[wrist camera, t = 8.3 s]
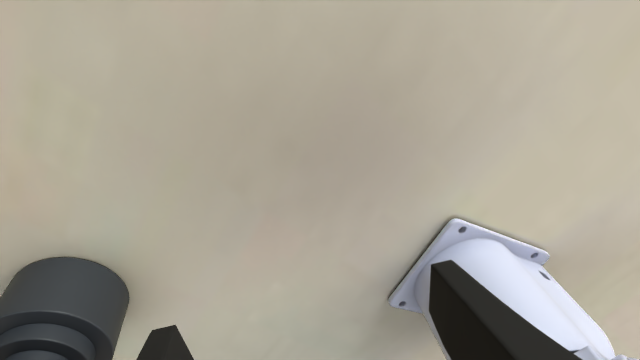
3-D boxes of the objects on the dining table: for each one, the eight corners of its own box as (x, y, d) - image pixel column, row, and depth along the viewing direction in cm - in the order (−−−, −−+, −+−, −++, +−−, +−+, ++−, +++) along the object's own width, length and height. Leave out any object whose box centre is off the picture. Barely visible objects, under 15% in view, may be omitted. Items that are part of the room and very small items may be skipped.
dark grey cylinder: (141, 270, 22) (110, 378, 16) (115, 337, 24) (81, 450, 19) (18, 245, 20) (-65, 361, 14) (3, 321, 22) (-73, 446, 17)
